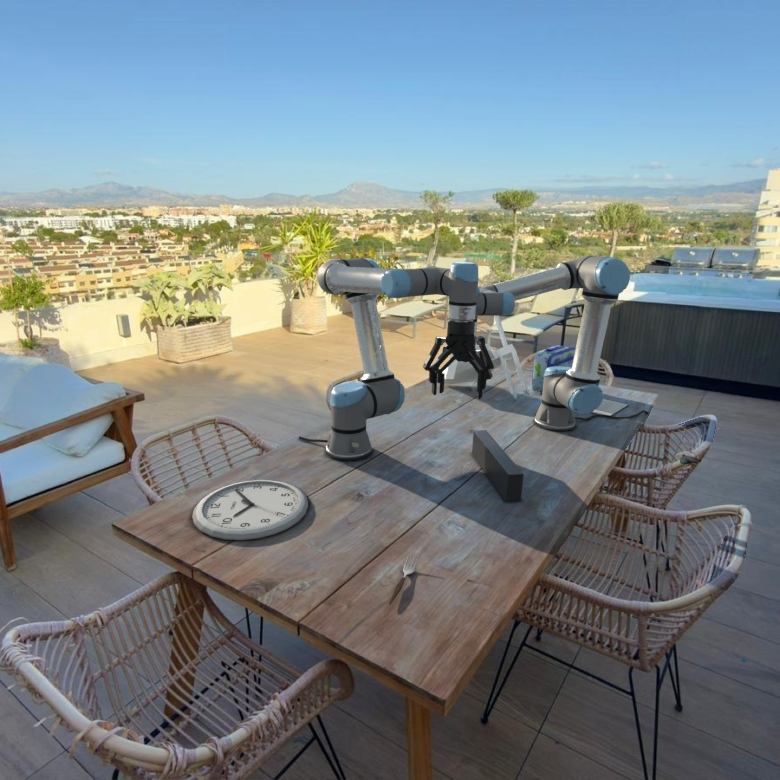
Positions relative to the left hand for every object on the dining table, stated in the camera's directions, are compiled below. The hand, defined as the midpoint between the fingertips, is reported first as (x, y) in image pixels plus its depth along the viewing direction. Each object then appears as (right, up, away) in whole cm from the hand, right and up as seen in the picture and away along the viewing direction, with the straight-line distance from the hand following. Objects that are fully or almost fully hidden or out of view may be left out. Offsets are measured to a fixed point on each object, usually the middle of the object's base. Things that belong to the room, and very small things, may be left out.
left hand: (456, 392), depth 151 cm
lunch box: (+58, +1, +97) cm, 113 cm away
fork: (-17, -41, -39) cm, 59 cm away
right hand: (+5, -1, +27) cm, 28 cm away
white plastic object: (+22, 0, +92) cm, 95 cm away
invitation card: (+72, -6, +75) cm, 105 cm away
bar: (+13, -26, +11) cm, 31 cm away
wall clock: (-56, -31, -11) cm, 65 cm away
